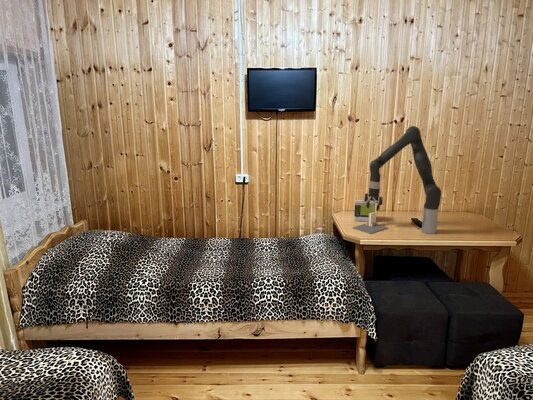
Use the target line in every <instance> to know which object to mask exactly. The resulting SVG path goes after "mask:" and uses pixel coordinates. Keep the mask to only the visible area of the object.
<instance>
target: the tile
mask: <svg viewBox="0 0 533 400" xmlns="http://www.w3.org/2000/svg"><path fill="white" fill-rule="evenodd" d="M367 222H368V225H369V226H370V224H372V223H376V222H377V211H376V212H372V213H369V220H368V221H367Z"/></svg>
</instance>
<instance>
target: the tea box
mask: <svg viewBox="0 0 533 400" xmlns="http://www.w3.org/2000/svg"><path fill="white" fill-rule="evenodd" d="M369 203H370V205H369V208H367V207H366V204H367V203H366V202H365V201H364V199H354V210H353V211H354V215H353V217H354V219H353V221H354V222H368V220H369V213H372V212H375V211H376V203H375V201H370V202H369Z"/></svg>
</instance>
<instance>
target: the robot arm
mask: <svg viewBox="0 0 533 400" xmlns="http://www.w3.org/2000/svg"><path fill="white" fill-rule="evenodd" d="M408 145H410V146H411V150H412V155H413V156H412V157H413V160H414V164H415V167H416V169H417V172H418V174H419V176H420V179H421V181H422V185H423V190H424V194H425V195H426V197H425V203H424V204H423V213H422V221H421V222H422V223H421V232H422V233H424V234H429V235H432V234H433V235H434V234H436V233H437V227H438V217H439V216H438V215H439V209H440V208H439V207H440V205H441V198H442V190H441V188H440V187H439V186H438V185H437V184H436V182H435V179H434V176H433V175H434V174H433V167H432V163H431V161H430V160H431V159H430V158H429V155H428V152H427V149H426V148H425V146H424V143H423V139H422V135H421V130H420V128H419V127H417V126H414V125H411V126H409V127H408V128H406V130H405V133H404V134H403V135H402V136H401V137H400V138H399V139H398V140H397V141H396V142H395V143H393V144H392V145H390V146H389V147H388V148H387V147H386V149H385V150H384V151H383V152H381V154H380V155H379V156H378V157H376V158H375V159H373V160H372V161H371V162H370V164H369V174H370V175H369V176H370V177H369V184H368V193H365V194H364V199H363V200H364V201H365V202H366V203H367V204H366V207H367V208H369V205H370V203H369V202H370V201H375V205H376V206H375V211H376V212H377V211H379V210H380V207H381V206H382V205H383V201H384V199H383V198H384V197H383V196H380V192H381V191H380V190H381V173H380V170H381V168H382V167H383V166H384V165H385V164H386V163H387V162H389V161H390V160H391V159H392V158H394V157H395V156H396V155H398V153H399V152H401V151H402V150H403V149H404V148H406V147H407V146H408Z"/></svg>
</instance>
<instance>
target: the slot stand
mask: <svg viewBox="0 0 533 400" xmlns="http://www.w3.org/2000/svg"><path fill="white" fill-rule="evenodd" d="M365 224H366V225H368V221H365ZM376 225H379V222H377V221H376V223H372V224H370V226H371V227H372V226H376Z"/></svg>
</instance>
